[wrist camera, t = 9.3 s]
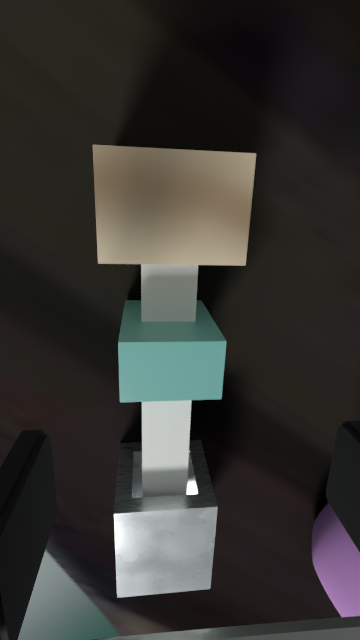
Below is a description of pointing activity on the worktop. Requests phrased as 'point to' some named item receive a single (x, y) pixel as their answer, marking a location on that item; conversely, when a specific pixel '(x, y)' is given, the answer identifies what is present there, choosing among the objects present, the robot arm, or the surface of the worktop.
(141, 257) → the socket
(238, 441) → the worktop surface
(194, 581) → the sleeve
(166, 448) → the plug
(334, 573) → the teapot
